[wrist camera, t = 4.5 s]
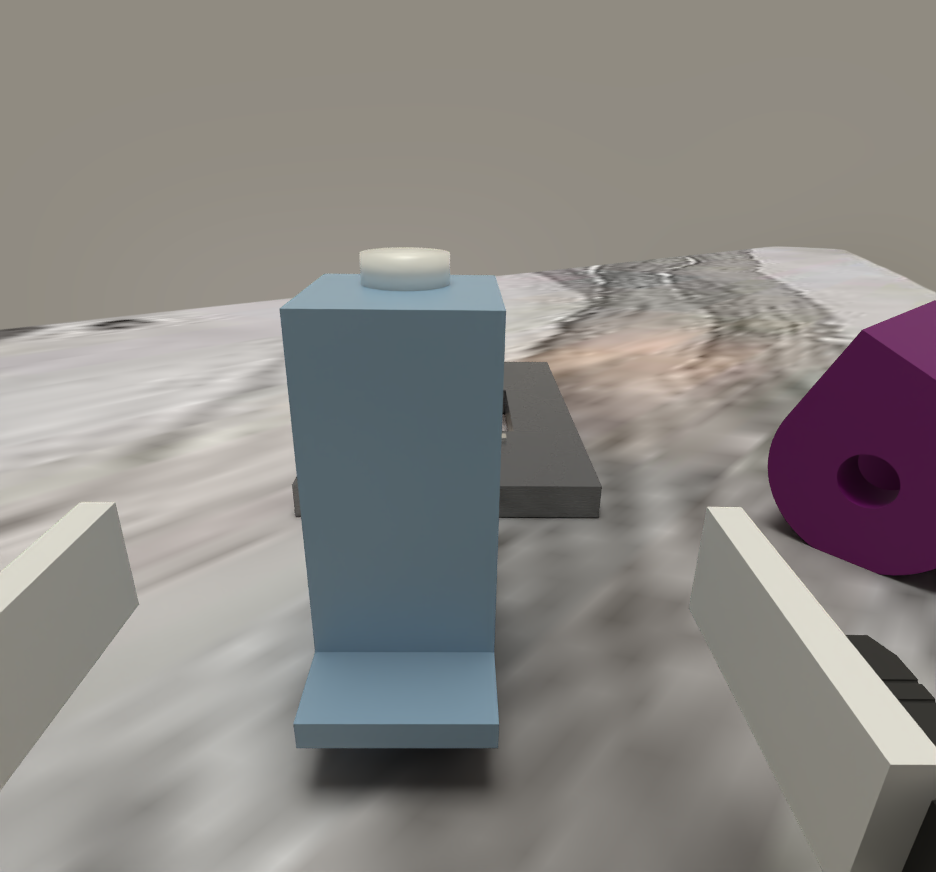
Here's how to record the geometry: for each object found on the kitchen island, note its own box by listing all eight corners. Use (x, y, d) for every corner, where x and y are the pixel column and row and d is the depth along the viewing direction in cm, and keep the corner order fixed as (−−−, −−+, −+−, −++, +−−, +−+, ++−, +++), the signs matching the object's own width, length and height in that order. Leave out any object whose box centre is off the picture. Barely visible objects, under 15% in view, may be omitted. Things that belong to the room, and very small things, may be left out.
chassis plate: (598, 517, 30) (602, 482, 29) (295, 515, 29) (291, 480, 29) (545, 382, 48) (547, 359, 47) (359, 381, 48) (358, 358, 47)
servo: (496, 792, 16) (516, 294, 12) (301, 793, 16) (238, 292, 11) (483, 568, 26) (491, 238, 21) (359, 568, 26) (337, 236, 21)
